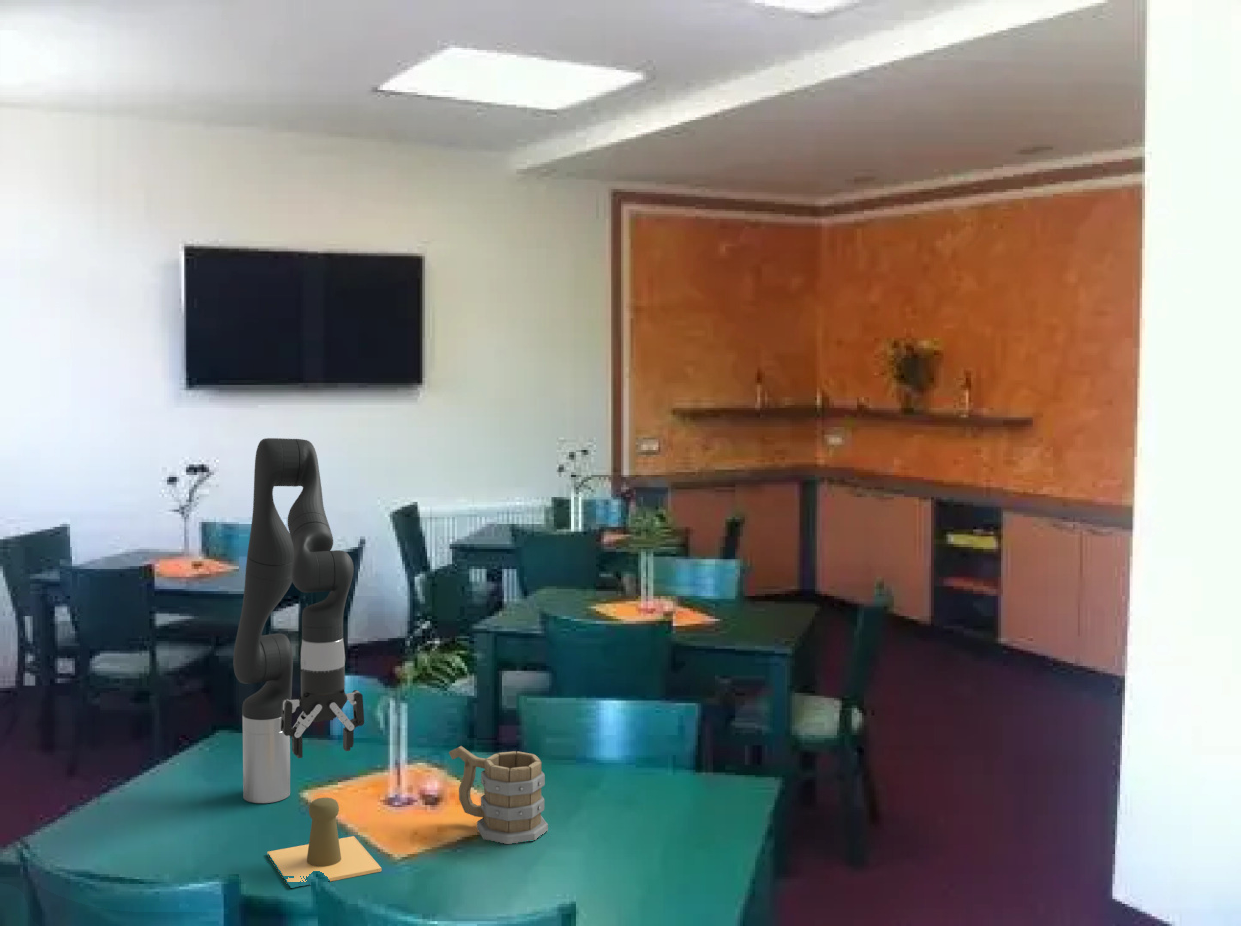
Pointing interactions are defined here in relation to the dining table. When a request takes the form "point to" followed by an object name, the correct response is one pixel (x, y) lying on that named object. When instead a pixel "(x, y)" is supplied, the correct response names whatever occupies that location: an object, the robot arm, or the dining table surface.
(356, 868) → the placemat
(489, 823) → the tankard
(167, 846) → the dining table surface
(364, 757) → the dining table surface
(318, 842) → the cork
